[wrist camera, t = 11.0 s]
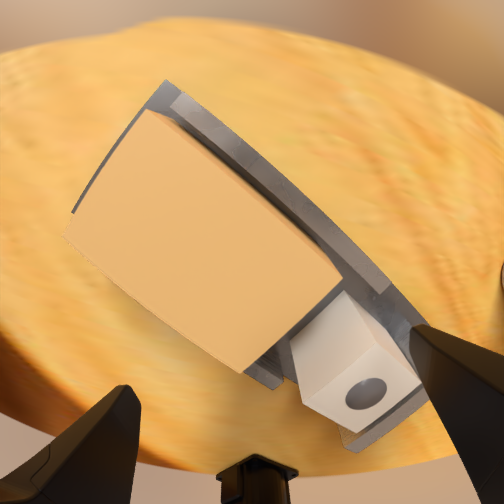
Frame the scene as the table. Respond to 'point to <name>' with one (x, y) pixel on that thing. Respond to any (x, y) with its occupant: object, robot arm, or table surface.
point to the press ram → (198, 243)
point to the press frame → (319, 229)
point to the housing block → (350, 365)
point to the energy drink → (503, 276)
